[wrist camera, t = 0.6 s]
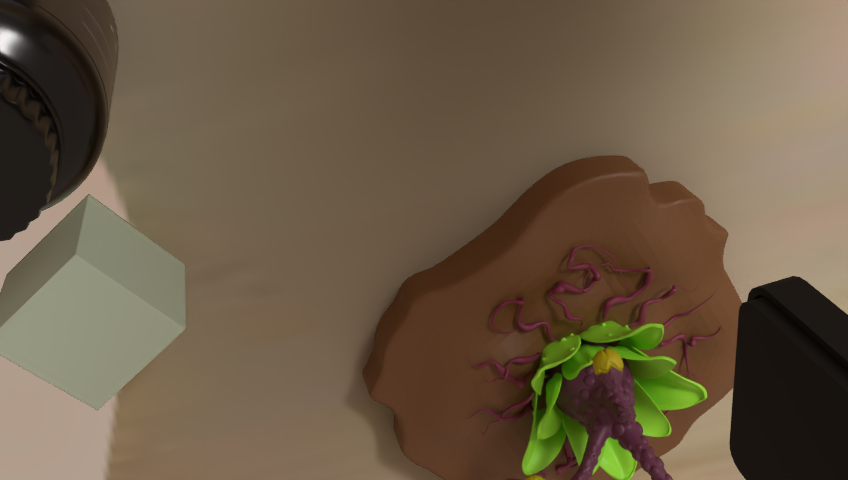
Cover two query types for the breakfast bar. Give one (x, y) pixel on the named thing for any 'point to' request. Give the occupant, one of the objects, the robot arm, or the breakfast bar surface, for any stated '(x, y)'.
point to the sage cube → (91, 304)
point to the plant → (563, 334)
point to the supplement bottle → (51, 101)
